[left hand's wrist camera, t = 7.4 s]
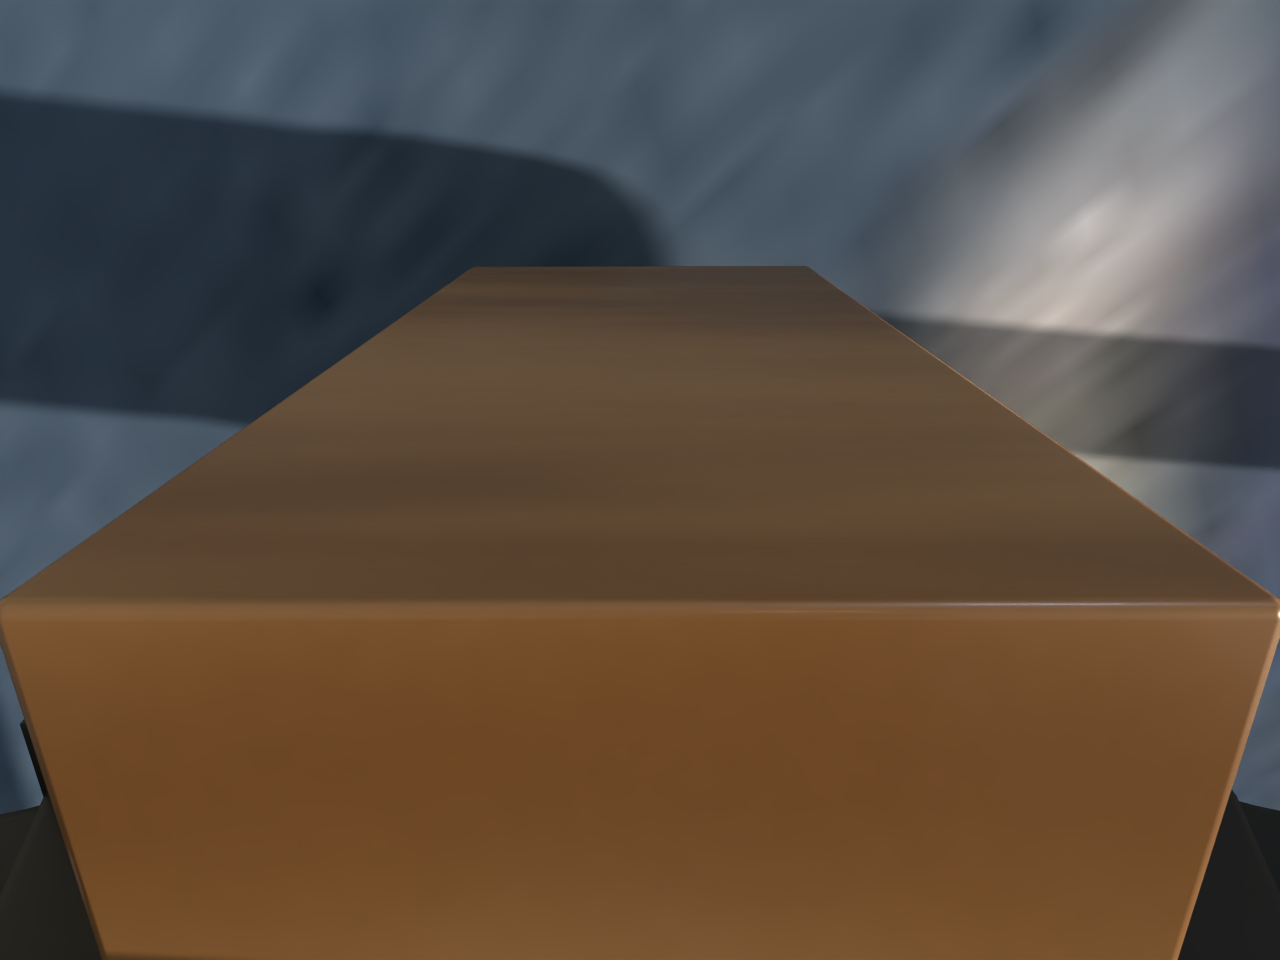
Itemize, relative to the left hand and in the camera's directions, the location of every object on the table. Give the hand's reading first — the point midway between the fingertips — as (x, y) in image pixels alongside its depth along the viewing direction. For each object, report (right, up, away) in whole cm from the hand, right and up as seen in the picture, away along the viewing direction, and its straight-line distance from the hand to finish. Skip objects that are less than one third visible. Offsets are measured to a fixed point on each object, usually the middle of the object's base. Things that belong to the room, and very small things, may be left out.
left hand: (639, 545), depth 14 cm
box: (0, -8, +7) cm, 10 cm away
